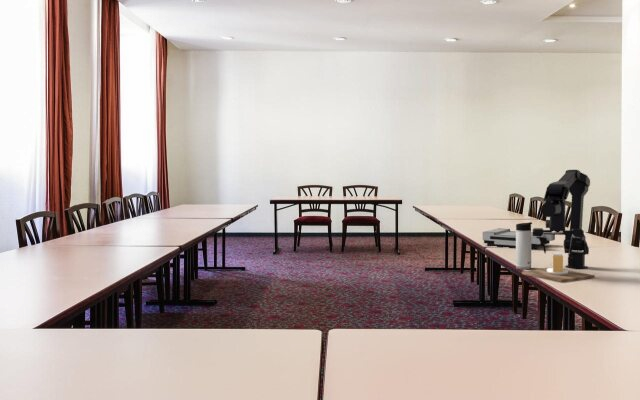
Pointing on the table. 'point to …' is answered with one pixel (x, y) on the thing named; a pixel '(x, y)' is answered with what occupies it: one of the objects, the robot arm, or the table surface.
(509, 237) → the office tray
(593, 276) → the base plate
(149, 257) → the table surface
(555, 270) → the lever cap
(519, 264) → the travel mug
